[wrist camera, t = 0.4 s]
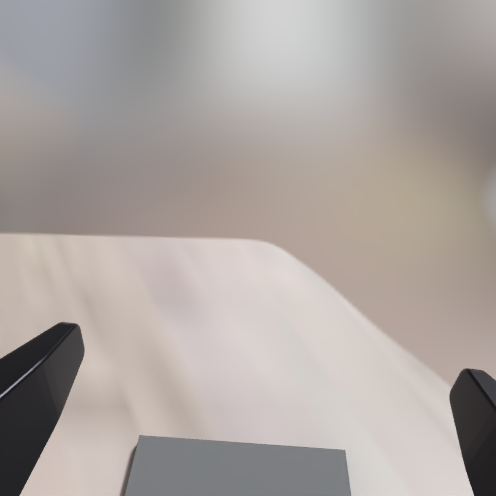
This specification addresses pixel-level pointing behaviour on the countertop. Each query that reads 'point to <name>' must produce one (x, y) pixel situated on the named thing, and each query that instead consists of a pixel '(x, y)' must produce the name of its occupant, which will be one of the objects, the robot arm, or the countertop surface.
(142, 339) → the countertop surface
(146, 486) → the key mat
